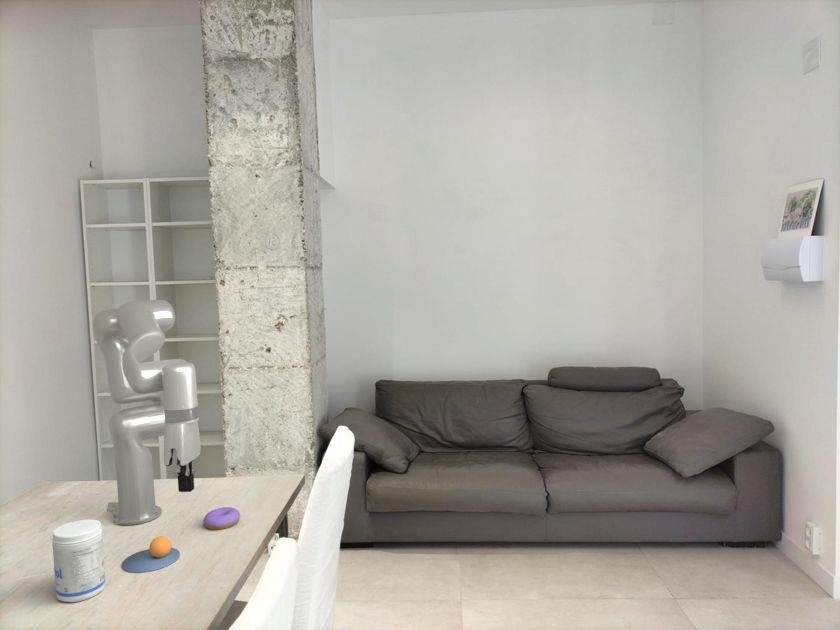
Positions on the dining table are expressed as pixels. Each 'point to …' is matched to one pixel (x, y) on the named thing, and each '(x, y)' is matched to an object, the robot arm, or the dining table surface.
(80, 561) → the supplement tub
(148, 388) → the robot arm
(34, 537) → the dining table surface
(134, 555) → the disc
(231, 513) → the donut
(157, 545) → the ball
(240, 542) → the dining table surface
